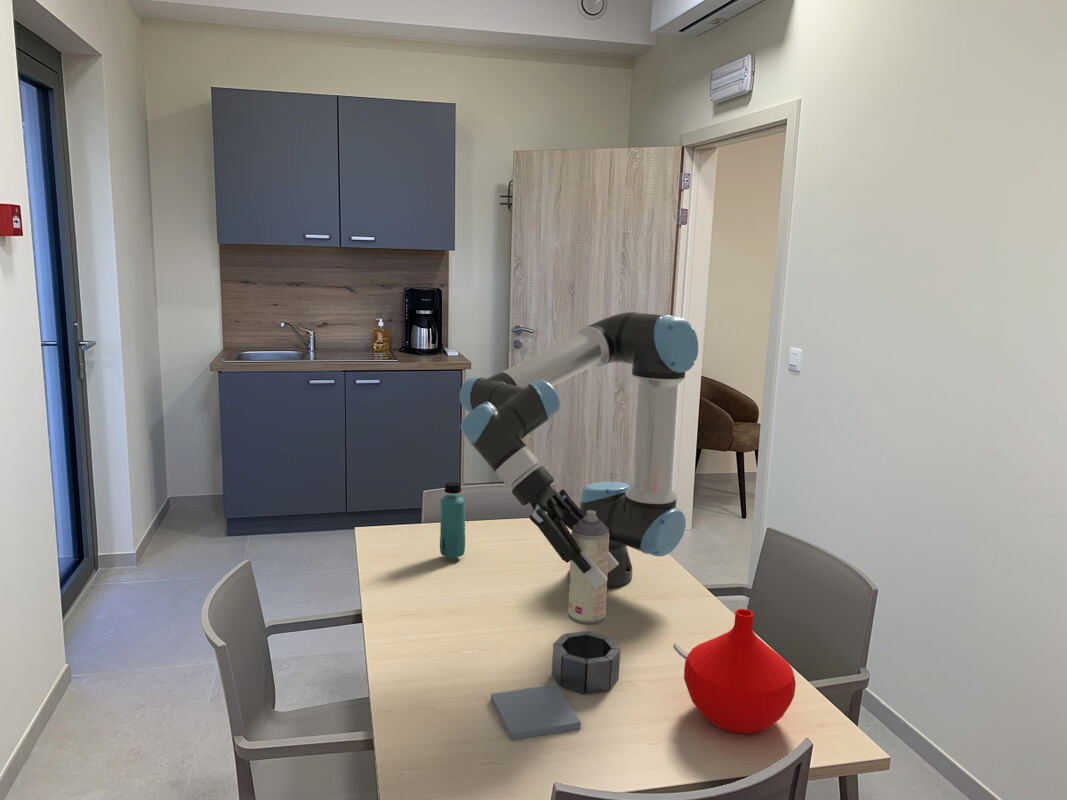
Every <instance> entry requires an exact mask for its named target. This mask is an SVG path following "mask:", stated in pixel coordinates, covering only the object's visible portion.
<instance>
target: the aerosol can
mask: <svg viewBox="0 0 1067 800" xmlns="http://www.w3.org/2000/svg"><path fill="white" fill-rule="evenodd" d="M570 533H571V535H572V537H573V538H574V540H575V542H576V543H577V545H578V547H579V549H580V550H581V552H582V551H583V550H584V551H585V552H586V553H587V554H588V556H589V557H590V558H591V559H592V560H593V562H594V563H595V564H596V565H597V566H598V568H599V569H600V570H601V571H602V572H603V574H604V575H605V576H606V577H607V573H608V552H609V528H608V527H607V526H605V525H604V524H603V522H602V521H600V519H598V518H597V517H596V511H593V510H588V511H586V516H585V517H584V518H582V520H580V521H579V522H578V523H577V524H574V525H573V527H572V530H571V531H570ZM568 589H569V590H568V611H567V612H568V614H567V615H568V616H567V617H568V619H569V620H571V621H572V622H573V623H575V624H578V625H579V624H580V625H583V626H585V625H586V626H594V625H598V624H601V623H603V622H604V621H605V620H606V615H607V613H606V612H607V610H606V609H607V594H608V593H607V589H608V587H607V581H605V582H604V583H603V584H602V585H600V586H599V587H598V588H596V589H595V587H594V586H593V585H592V584H591V583H590V581H589V580H588V579H587V578H586V577H585V575H584V574H583V573H582V572H581V570H580V569H579V568H578V567H577V566H576V564H575V563H574V562H573V561H572V560H571V561H569V588H568Z"/></svg>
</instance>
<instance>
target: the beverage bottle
mask: <svg viewBox="0 0 1067 800" xmlns="http://www.w3.org/2000/svg"><path fill="white" fill-rule="evenodd" d="M444 484H445V485H444V492H445V493H447V494H445V495H444V496H443V497H442V498H440V518H439V522H440V526H439V527H440V528H439V530H440V532H439V534H440V535H439V550H440V551H439V552H440V555H442V556H443V557H445V558H458V557H459V558H460V557H462V556H464V555H465V551H466V549H465V548H466V519H465V516H466V499H465V497H463V496H462V495H461V494H459V493H462V485H461V483H460V482H458V481H448V482H446V483H444Z"/></svg>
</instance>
